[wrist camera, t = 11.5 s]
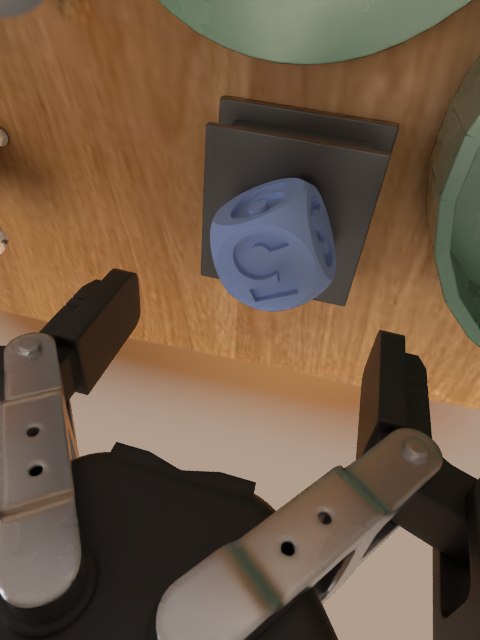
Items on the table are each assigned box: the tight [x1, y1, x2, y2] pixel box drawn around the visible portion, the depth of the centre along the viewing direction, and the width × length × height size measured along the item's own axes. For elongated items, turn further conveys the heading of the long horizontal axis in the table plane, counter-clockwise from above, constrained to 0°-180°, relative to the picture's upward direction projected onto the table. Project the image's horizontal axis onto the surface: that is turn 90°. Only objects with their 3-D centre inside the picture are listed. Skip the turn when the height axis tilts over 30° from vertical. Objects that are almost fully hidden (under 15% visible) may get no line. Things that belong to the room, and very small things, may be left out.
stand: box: [201, 96, 399, 306], centre depth 21 cm, size 8×8×4 cm
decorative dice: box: [210, 178, 336, 312], centre depth 18 cm, size 4×4×4 cm
